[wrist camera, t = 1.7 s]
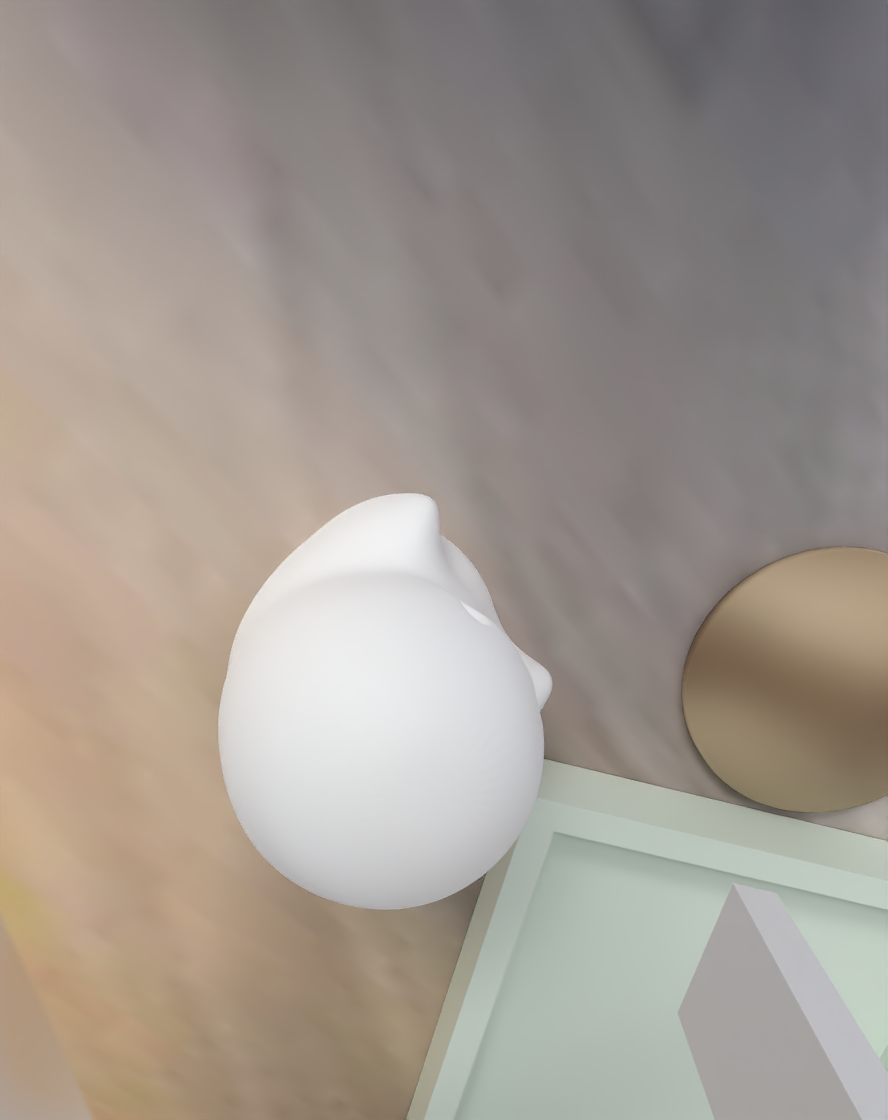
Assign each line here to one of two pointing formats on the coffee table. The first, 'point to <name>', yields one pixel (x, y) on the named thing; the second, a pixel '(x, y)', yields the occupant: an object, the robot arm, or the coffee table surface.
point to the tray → (632, 948)
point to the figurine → (380, 714)
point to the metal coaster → (796, 682)
